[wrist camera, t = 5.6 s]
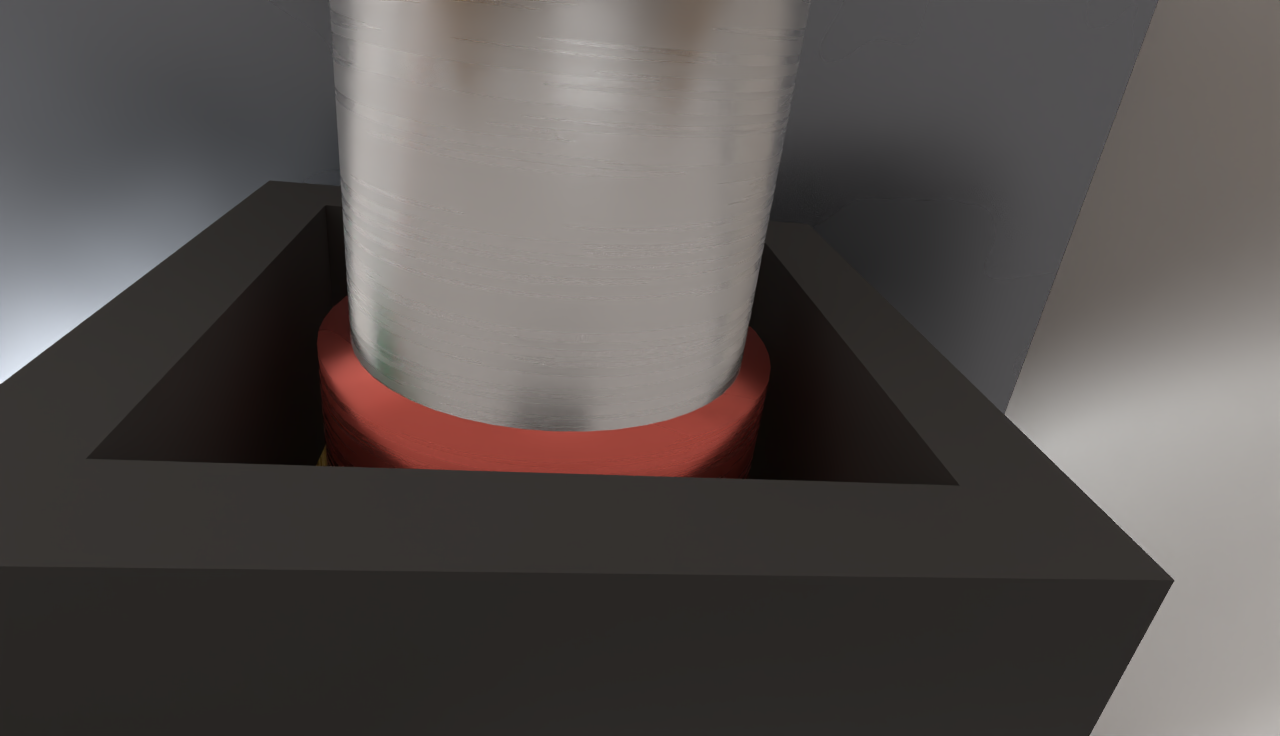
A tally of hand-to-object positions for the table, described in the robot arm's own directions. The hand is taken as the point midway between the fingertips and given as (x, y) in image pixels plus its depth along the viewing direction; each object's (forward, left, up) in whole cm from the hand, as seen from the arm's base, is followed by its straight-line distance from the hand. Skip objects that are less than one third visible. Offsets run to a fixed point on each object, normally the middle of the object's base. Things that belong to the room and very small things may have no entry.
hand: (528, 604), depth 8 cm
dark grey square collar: (+3, 0, 0) cm, 3 cm away
